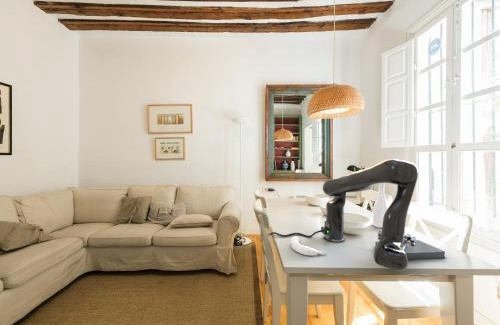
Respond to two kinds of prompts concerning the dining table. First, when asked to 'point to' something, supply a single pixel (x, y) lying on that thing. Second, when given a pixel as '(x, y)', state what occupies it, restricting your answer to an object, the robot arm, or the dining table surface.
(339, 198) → the robot arm
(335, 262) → the dining table surface
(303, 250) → the banana
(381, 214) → the wine bottle
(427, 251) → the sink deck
